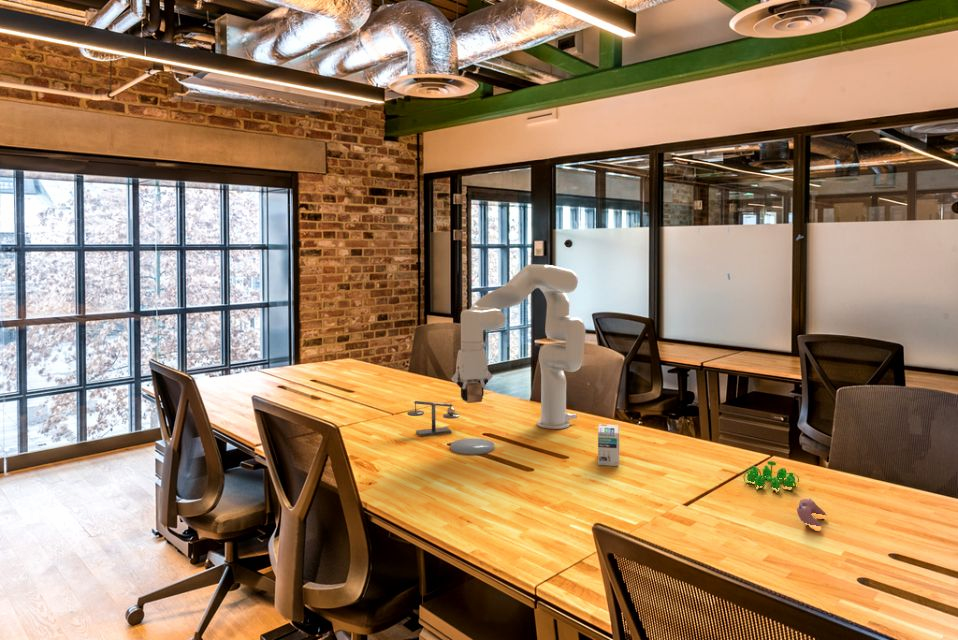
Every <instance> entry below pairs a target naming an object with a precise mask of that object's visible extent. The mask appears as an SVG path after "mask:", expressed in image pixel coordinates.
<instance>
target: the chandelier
mask: <svg viewBox="0 0 958 640" xmlns="http://www.w3.org/2000/svg"><path fill="white" fill-rule="evenodd" d="M776 465H777V462H775V461H772V460H771V461H767V465H764V467H763V468H762V471H761V470H760V469H759V468H758V467H757V466H754V465H752V466H749V468H748V469H747V471H745V472H744V473H743V477H742V478H743V481H744V482H745V481H747V480H748V481H751V482H754V481H755V484H754V487H755V486H756V487H757V485H758V486H759V487H760V486H763V485H764V484H765V485H766V482H767V481H768V482H771V487H773V488H776V489H777V490H778V488H781V484H783V486H784V485H785V486H787V487H792V486H793V483H794V484H795V487H793V489H794V488H797V486H796V484H797V482H800V479H799V476H798V475H797V474H796V473H795V472H787V470H786V468H784V467H780V468H779V469H778V470H777V474H776V476H773V466H776ZM769 466H770V467H769ZM746 474H747V475H746ZM746 476H747V479H746V478H745V477H746ZM765 476H766V477H765ZM795 476H796V477H795ZM755 478H756V480H755ZM779 478H782V479H779ZM784 478H786V479H785V481H784ZM796 478H797V482H796ZM745 479H746V480H745ZM766 479H767V480H766ZM778 480H781V481H778ZM765 485H764V486H765Z"/></svg>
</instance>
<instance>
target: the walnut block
mask: <svg viewBox="0 0 958 640" xmlns="http://www.w3.org/2000/svg"><path fill="white" fill-rule="evenodd" d="M466 389H467V401H465V400H463V402H466V403H467V404H472V403H481V402H483V399H482V384H480V383H478V381H467V385H466Z"/></svg>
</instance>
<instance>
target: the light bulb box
mask: <svg viewBox="0 0 958 640" xmlns="http://www.w3.org/2000/svg"><path fill="white" fill-rule="evenodd" d="M597 449H598V450H597V465H598V466H607V467H609V466H611V467H612V466H613V467H620V466H619V465H620V425H619V424H605V423H604V424H603V423H599V424H598V429H597Z"/></svg>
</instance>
